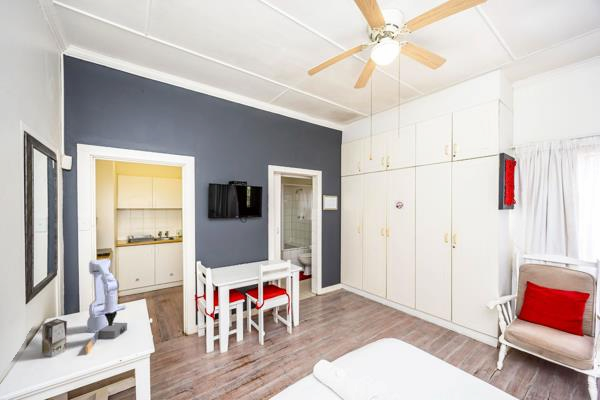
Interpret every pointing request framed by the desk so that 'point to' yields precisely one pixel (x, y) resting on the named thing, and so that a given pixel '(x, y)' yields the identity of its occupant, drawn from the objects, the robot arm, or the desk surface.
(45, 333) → the coffee box
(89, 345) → the side door
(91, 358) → the desk surface
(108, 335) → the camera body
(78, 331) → the desk surface
